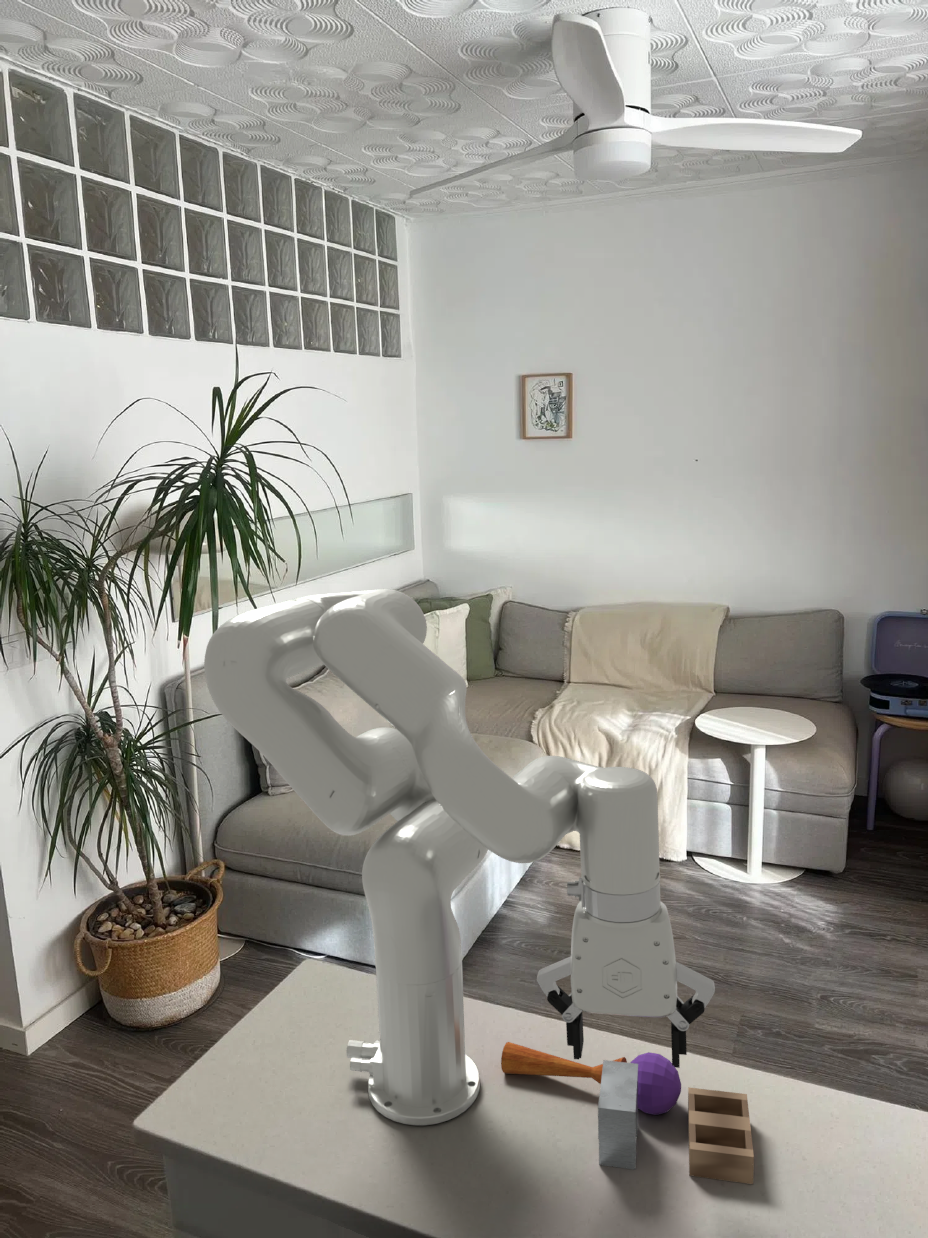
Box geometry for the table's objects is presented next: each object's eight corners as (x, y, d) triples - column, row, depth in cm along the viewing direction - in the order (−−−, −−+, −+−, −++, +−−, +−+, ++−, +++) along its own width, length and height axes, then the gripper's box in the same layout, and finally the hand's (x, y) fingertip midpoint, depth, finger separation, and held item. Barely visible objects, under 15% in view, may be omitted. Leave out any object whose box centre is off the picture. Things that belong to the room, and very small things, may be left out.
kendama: (515, 1021, 111) (684, 1048, 102) (516, 1072, 111) (686, 1103, 102) (496, 1042, 105) (673, 1072, 97) (497, 1095, 105) (675, 1130, 97)
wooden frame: (689, 1175, 92) (689, 1149, 91) (687, 1112, 100) (688, 1087, 100) (753, 1184, 90) (753, 1157, 90) (746, 1119, 99) (746, 1094, 98)
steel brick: (598, 1170, 93) (598, 1107, 91) (603, 1119, 100) (603, 1060, 98) (635, 1175, 92) (635, 1112, 91) (637, 1123, 99) (638, 1064, 98)
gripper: (527, 910, 89) (536, 1072, 92) (714, 918, 85) (717, 1087, 88) (538, 875, 96) (546, 1026, 99) (711, 881, 92) (714, 1039, 95)
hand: (626, 1055), depth 93 cm, fingers open, 9 cm apart
